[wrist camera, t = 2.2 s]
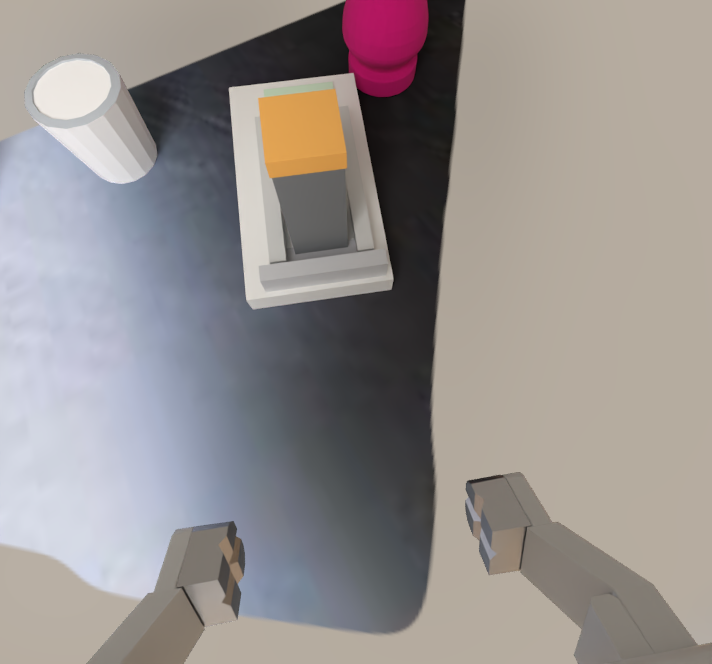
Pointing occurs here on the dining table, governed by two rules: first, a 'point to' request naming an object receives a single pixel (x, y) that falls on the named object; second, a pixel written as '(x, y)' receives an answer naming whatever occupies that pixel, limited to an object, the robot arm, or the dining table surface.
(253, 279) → the white slider switch base
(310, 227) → the plate
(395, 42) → the pepper mill
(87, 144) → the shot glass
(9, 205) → the dining table surface
